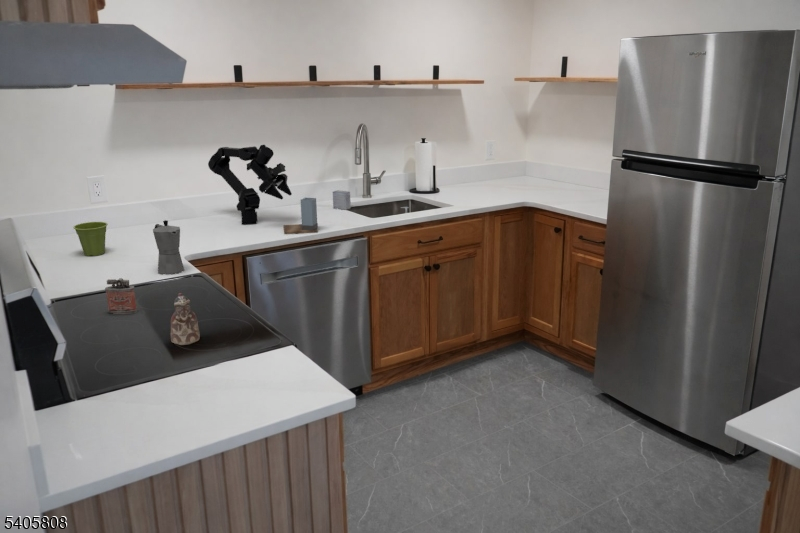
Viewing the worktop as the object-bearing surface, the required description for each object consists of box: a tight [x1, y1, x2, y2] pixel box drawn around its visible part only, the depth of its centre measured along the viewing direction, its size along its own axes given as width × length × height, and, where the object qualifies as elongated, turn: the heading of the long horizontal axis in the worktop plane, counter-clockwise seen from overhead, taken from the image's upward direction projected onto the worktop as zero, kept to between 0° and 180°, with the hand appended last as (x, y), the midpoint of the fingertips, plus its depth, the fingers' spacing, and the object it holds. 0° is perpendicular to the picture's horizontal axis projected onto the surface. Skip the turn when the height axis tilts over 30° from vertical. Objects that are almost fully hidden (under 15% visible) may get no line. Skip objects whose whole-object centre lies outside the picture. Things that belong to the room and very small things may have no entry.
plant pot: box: [72, 221, 108, 257], centre depth 249 cm, size 12×12×11 cm
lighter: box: [104, 277, 138, 315], centre depth 189 cm, size 8×3×10 cm, turn 92°
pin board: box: [282, 223, 319, 235], centre depth 284 cm, size 14×13×5 cm
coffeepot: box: [152, 219, 185, 275], centre depth 227 cm, size 15×9×18 cm, turn 44°
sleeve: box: [300, 197, 319, 230], centre depth 281 cm, size 5×5×13 cm
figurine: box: [170, 292, 201, 346], centre depth 169 cm, size 7×7×12 cm
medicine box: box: [332, 189, 352, 211], centre depth 327 cm, size 8×4×9 cm, turn 58°
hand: (286, 196), depth 286 cm, fingers open, 9 cm apart
